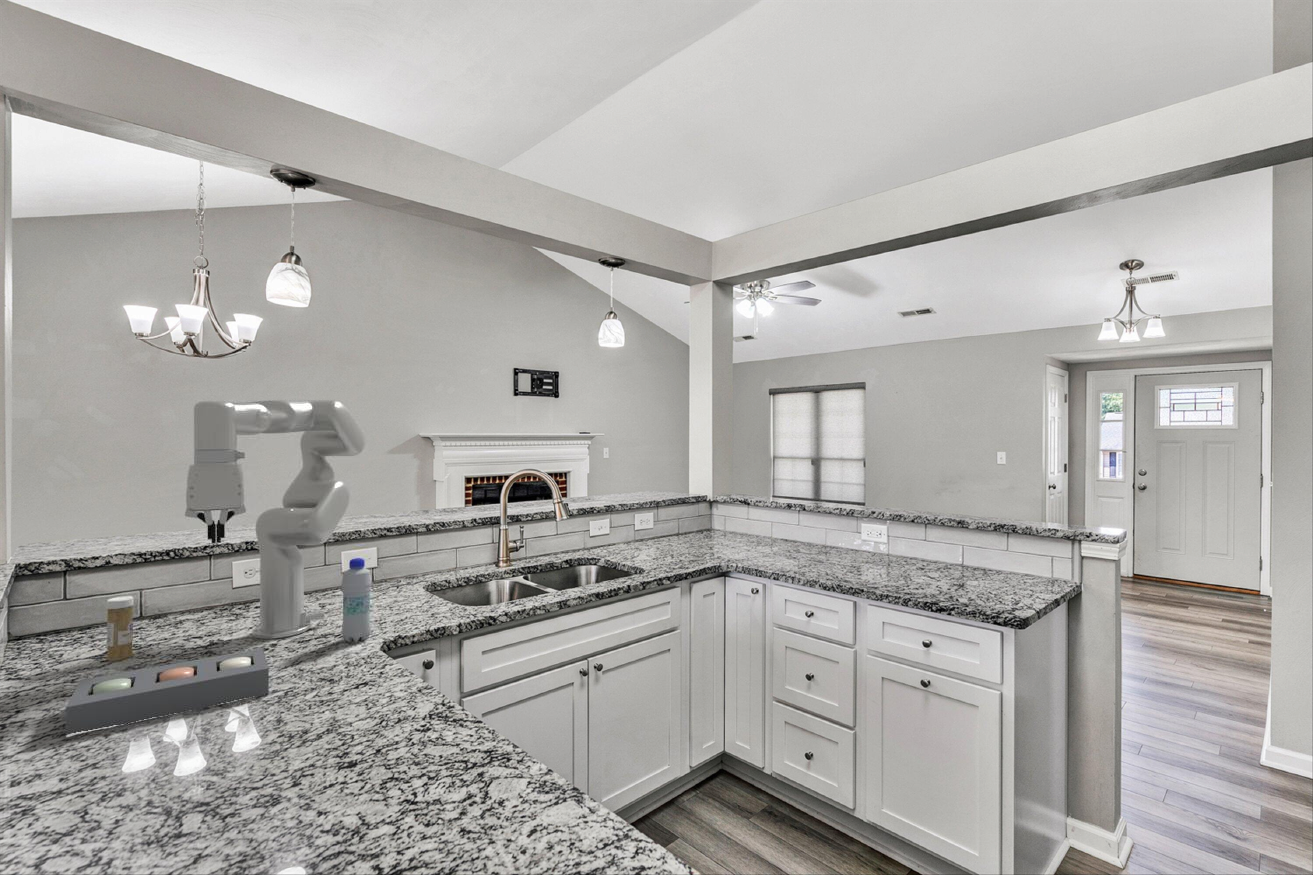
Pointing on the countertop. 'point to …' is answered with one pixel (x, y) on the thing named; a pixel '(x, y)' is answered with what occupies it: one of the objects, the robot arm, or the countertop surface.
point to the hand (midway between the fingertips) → (216, 541)
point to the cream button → (235, 663)
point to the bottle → (356, 601)
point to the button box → (166, 692)
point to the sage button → (112, 685)
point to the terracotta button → (176, 673)
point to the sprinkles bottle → (120, 628)
